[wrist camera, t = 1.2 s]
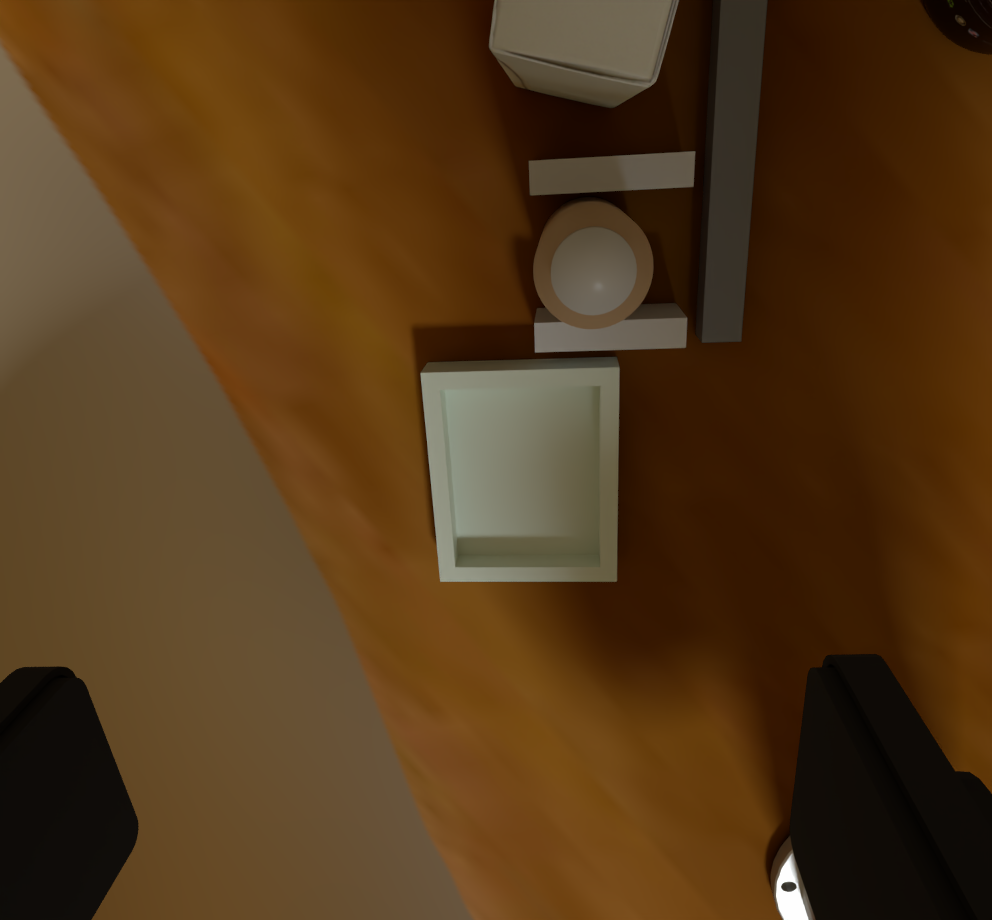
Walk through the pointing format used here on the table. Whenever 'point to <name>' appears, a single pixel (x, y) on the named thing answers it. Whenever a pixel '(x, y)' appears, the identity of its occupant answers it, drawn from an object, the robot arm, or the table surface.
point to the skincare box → (582, 46)
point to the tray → (524, 468)
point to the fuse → (592, 264)
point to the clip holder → (723, 187)
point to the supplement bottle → (964, 22)
